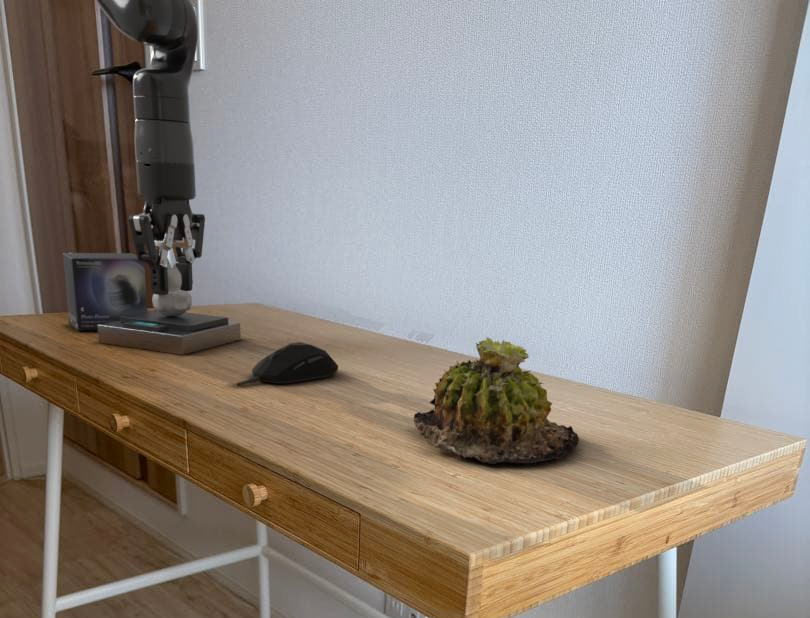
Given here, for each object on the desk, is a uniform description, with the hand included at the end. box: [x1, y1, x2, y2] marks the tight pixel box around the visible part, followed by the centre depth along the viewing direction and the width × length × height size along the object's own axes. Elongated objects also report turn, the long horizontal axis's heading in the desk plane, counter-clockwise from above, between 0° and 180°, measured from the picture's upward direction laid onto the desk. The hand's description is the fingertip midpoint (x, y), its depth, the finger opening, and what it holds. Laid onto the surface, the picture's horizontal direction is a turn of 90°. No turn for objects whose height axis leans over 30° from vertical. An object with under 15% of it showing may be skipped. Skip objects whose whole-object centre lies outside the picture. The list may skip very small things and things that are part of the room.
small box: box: [62, 252, 148, 332], centre depth 124 cm, size 11×6×10 cm, turn 122°
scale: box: [97, 320, 242, 356], centre depth 118 cm, size 14×14×3 cm
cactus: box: [413, 336, 580, 465], centre depth 79 cm, size 17×16×10 cm
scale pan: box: [120, 309, 229, 331], centre depth 118 cm, size 12×9×1 cm
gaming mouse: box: [236, 341, 339, 387], centre depth 100 cm, size 6×15×4 cm, turn 138°
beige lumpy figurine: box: [151, 257, 193, 316], centre depth 117 cm, size 5×7×8 cm
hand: (172, 291), depth 117 cm, fingers closed on beige lumpy figurine, 5 cm apart
